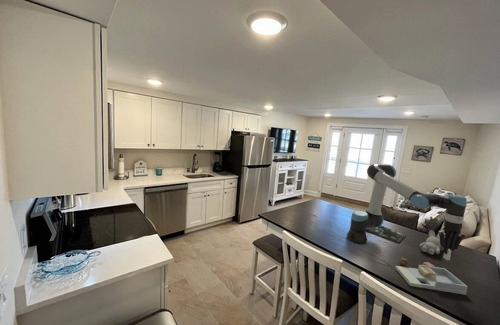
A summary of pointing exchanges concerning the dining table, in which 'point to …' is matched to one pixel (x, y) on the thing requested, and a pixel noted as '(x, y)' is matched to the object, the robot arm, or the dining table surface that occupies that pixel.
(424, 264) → the terracotta block
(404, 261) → the walnut dowel
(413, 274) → the tray
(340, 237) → the dining table surface
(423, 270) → the maple block
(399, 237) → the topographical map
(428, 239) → the toy
